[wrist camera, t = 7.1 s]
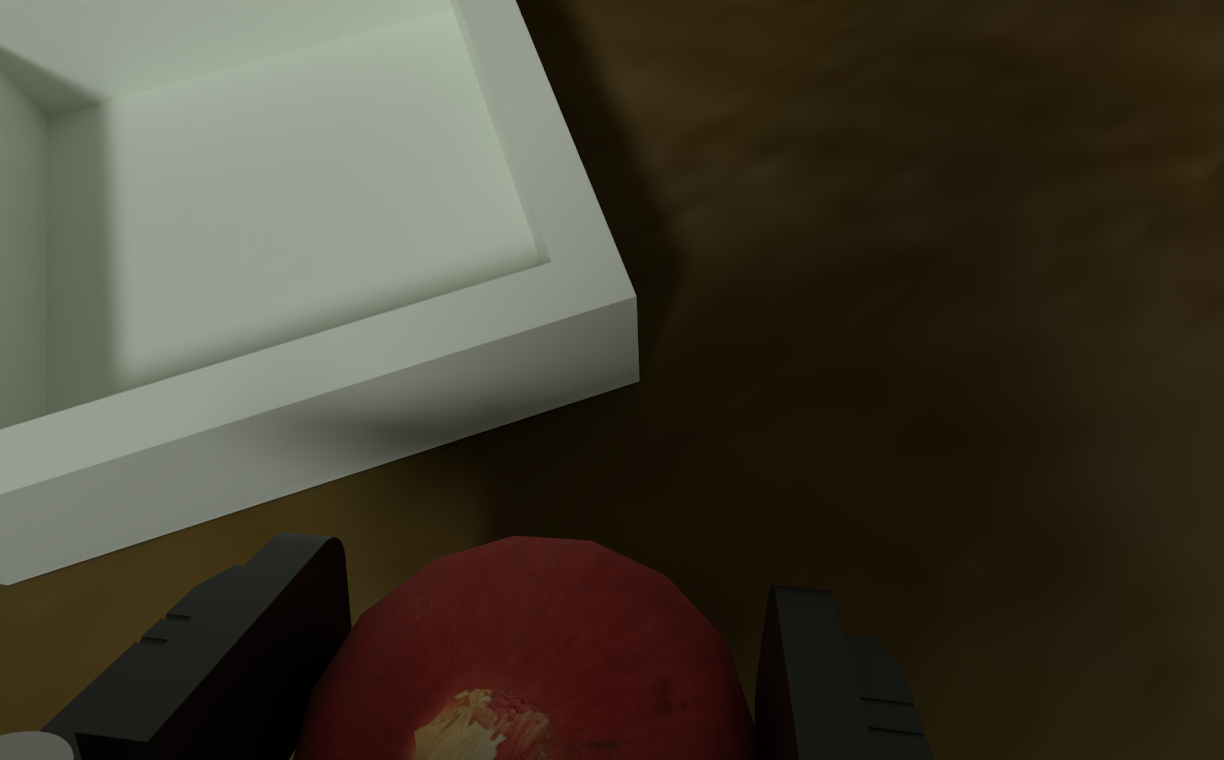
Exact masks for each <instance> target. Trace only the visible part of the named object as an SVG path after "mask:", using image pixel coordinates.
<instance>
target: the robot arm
mask: <svg viewBox="0 0 1224 760" xmlns="http://www.w3.org/2000/svg"><path fill="white" fill-rule="evenodd" d="M351 630H352V628H351V616H350V605H349V594H348V583H347V572H346V560H345V551H344V547H343V544H342V542H341V541H340V540H339V539H338V538H335V537H326V536H317V535H307V534H298V533H288V532H282V533H279V534H277V535H276V536H275V537H273V538H272V539H271V540H270V541H269V542H268V543H267V544H266V545H265V546H264V547H263V548H262V549H261V550H260V551H259V552H258V553H257V554H256V555H255V556H254V557H253V558H252V559H251V560H250V561H249V562H248V563H247V564H246V565H245V566H239V565H234V566H233V567H231V568H229V569H227V570H225V571H223V572H221V573H220V574H218V575H216V576H214V577H212V578H210V579H208V580H207V581H205V582H203V583H201V584H199V585H197V586H196V587H195V588H193V589H192V590H191V591H190V592H189V593H188V594H187V595H186V596H185V597H184V598H183V599H182V600H180V601H179V602H178V603H177V604H176V605H175V606H174V607H173V608H172V609H171V610H170V611H169V612H167V613H166V618H165V619H160V620H159V621H158V622H157V623H156V624H155V625H153V626H152V627H151V628H150V629H149V630H148V631H147V632H146V633H145V634H144V635H143V636H142V639H141V641H140V643H136V642H135V643H134V644H133V645H132V646H131V647H130V648H129V649H128V650H126V651H125V652H124V653H123V654H122V655H121V656H120V657H119V658H118V659H117V660H116V661H115V662H113V663H112V664H111V665H110V666H109V667H108V668H107V669H106V670H105V671H104V672H103V673H102V674H101V675H99V676H98V677H97V678H96V679H95V680H94V681H93V682H92V683H91V684H90V685H89V686H88V687H86V688H85V689H84V690H83V691H82V692H81V693H80V694H79V695H78V696H77V697H76V698H75V699H73V700H72V701H71V702H70V703H69V704H68V705H67V706H66V707H65V708H64V709H63V710H62V711H61V712H59V713H58V714H57V715H56V716H55V717H54V718H53V719H52V720H51V721H50V722H49V723H48V724H46V725H45V726H44V727H43V728H42V729H41V730H40V731H25V732H17V733H10V734H6V735H1V736H0V760H289V758H290V757H291V755H292V754H293V752H294V751H295V749H296V746H297V743H298V739H299V735H300V731H301V727H302V724H303V720H304V716H305V712H306V709H307V705H308V701H309V697H310V693H311V691H312V690H313V688H314V687H315V685H316V684H317V682H318V681H319V679H320V677H321V676H322V674H323V673H324V671H325V670H326V668H327V667H328V665H329V664H330V662H331V661H332V659H333V657H334V656H335V654H336V653H337V651H338V650H339V648H340V647H341V645H342V644H343V642H344V641H345V639H346V637H347V636H348V634H349V633H350V631H351ZM755 729H756V746H757V760H934V759H933V756H932V753H931V751H930V748H929V745H928V742H927V741H925V739H924V731H923V728H922V725H921V722H920V719H919V716H918V714H917V711H915V710H914V702H913V699H912V697H911V694H910V691H909V688H908V685H907V682H906V680H905V677H904V674H903V671H902V668H901V667H900V666H899V665H898V664H897V663H896V662H895V660H894V659H893V658H892V657H891V656H890V655H889V654H888V653H887V651H886V650H885V649H884V648H883V647H882V646H881V645H880V643H879V642H878V641H877V640H876V639H875V638H874V637H870V636H861V635H852V634H843V631H842V627H841V624H840V620H839V616H838V612H837V609H836V605H835V601H834V597H833V594H832V593H831V591H827V590H818V589H808V588H799V587H789V586H780V585H772V586H771V588H770V591H769V595H768V601H767V609H766V616H765V623H764V631H763V638H762V646H761V653H760V660H759V668H758V675H757V683H756V695H755Z"/></svg>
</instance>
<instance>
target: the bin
mask: <svg viewBox="0 0 1224 760" xmlns="http://www.w3.org/2000/svg"><path fill="white" fill-rule="evenodd" d="M636 382H639V353H638V326H637V298H636V294H635V291H634V289H633V286H632V284H631V282H630V279H629V277H628V274H627V272H626V269H625V267H624V264H623V262H622V260H621V257H620V255H619V252H618V250H617V247H616V245H615V242H614V240H613V238H612V235H611V233H610V230H609V228H608V225H607V223H606V220H605V218H604V215H603V213H602V211H601V208H600V206H599V203H598V201H597V198H596V196H595V193H594V191H593V189H592V186H591V184H590V181H589V179H588V176H587V174H586V171H585V169H584V167H583V164H582V162H581V159H580V157H579V154H578V152H577V149H576V147H575V144H574V142H573V140H572V137H571V135H570V132H569V130H568V127H567V125H566V122H565V120H564V118H563V115H562V113H561V110H560V108H559V105H558V103H557V100H556V98H555V96H554V93H553V91H552V88H551V86H550V83H549V81H548V78H547V76H546V73H545V71H544V69H543V66H542V64H541V61H540V59H539V56H538V54H537V51H536V49H535V47H534V44H533V42H532V39H531V37H530V34H529V32H528V29H527V27H526V24H525V22H524V20H523V17H522V15H521V12H520V10H519V7H518V5H517V2H516V0H0V584H4V585H10V584H13V583H16V582H19V581H23V580H26V579H29V578H32V577H35V576H38V575H41V574H44V573H47V572H50V571H53V570H57V569H60V568H63V567H66V566H69V565H72V564H75V563H78V562H81V561H84V560H88V559H91V558H94V557H97V556H100V555H103V554H106V553H109V552H112V551H115V550H119V549H122V548H125V547H128V546H131V545H134V544H137V543H140V542H143V541H146V540H149V539H153V538H156V537H159V536H162V535H165V534H168V533H171V532H174V531H177V530H180V529H184V528H187V527H190V526H193V525H196V524H199V523H202V522H205V521H208V520H211V519H215V518H218V517H221V516H224V515H227V514H230V513H233V512H236V511H239V510H242V509H245V508H249V507H252V506H255V505H258V504H261V503H264V502H267V501H270V500H273V499H276V498H280V497H283V496H286V495H289V494H292V493H295V492H298V491H301V490H304V489H307V488H311V487H314V486H317V485H320V484H323V483H326V482H329V481H332V480H335V479H338V478H341V477H345V476H348V475H351V474H354V473H357V472H360V471H363V470H366V469H369V468H372V467H376V466H379V465H382V464H385V463H388V462H391V461H394V460H397V459H400V458H403V457H407V456H410V455H413V454H416V453H419V452H422V451H425V450H428V449H431V448H434V447H437V446H441V445H444V444H447V443H450V442H453V441H456V440H459V439H462V438H465V437H468V436H472V435H475V434H478V433H481V432H484V431H487V430H490V429H493V428H496V427H499V426H503V425H506V424H509V423H512V422H515V421H518V420H521V419H524V418H527V417H530V416H533V415H537V414H540V413H543V412H546V411H549V410H552V409H555V408H558V407H561V406H564V405H568V404H571V403H574V402H577V401H580V400H583V399H586V398H589V397H592V396H595V395H599V394H602V393H605V392H608V391H611V390H614V389H617V388H620V387H623V386H626V385H629V384H633V383H636Z"/></svg>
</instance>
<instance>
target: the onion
mask: <svg viewBox="0 0 1224 760" xmlns="http://www.w3.org/2000/svg"><path fill="white" fill-rule="evenodd" d="M293 760H757V746H756V729H755V726H754V723H753V720H752V717H751V714H750V711H749V708H748V705H747V702H746V699H745V696H744V693H743V690H742V687H741V685H740V682H739V679H738V676H737V673H736V670H735V667H734V664H733V661H732V658H731V655H730V652H729V649H728V646H727V643H726V640H725V638H724V637H723V636H722V635H721V634H720V633H719V632H718V631H717V630H716V629H715V628H714V626H713V625H712V624H711V623H710V622H709V621H708V620H707V619H706V618H705V617H704V616H703V615H702V614H701V612H700V611H699V610H698V609H697V608H696V607H695V606H694V605H693V604H692V603H691V602H690V601H689V600H688V598H687V597H686V596H685V595H684V594H683V593H682V592H681V591H680V590H679V589H678V588H677V587H676V586H675V584H674V583H673V582H672V581H671V580H670V579H669V578H668V577H666V576H665V575H664V574H662V573H660V572H657V571H655V570H653V569H651V568H649V567H647V566H645V565H642V564H640V563H638V562H636V561H634V560H632V559H630V558H628V557H625V556H623V555H621V554H619V553H617V552H615V551H613V550H611V549H608V548H606V547H604V546H602V545H600V544H598V543H596V542H594V541H590V540H574V539H559V538H543V537H527V536H512V537H508V538H505V539H501V540H498V541H495V542H491V543H488V544H484V545H481V546H478V547H474V548H471V549H467V550H464V551H461V552H457V553H454V554H450V555H447V556H443V557H440V558H437V559H435V560H434V561H432V562H431V563H429V564H428V565H427V566H425V567H424V568H423V569H421V570H420V571H419V572H417V573H416V574H415V575H413V576H412V577H411V578H409V579H408V580H407V581H405V582H404V583H403V584H401V585H400V586H399V587H397V588H396V589H395V590H393V591H392V592H391V593H389V594H388V595H387V596H385V597H384V598H383V599H381V600H380V601H379V602H377V603H376V604H375V605H373V606H372V607H371V608H370V609H368V610H367V611H366V612H364V613H363V614H362V615H361V616H360V617H359V619H358V620H357V622H356V624H355V625H354V627H353V628H352V630H351V631H350V633H349V634H348V636H347V637H346V639H345V641H344V642H343V644H342V645H341V647H340V648H339V650H338V651H337V653H336V654H335V656H334V657H333V659H332V661H331V662H330V664H329V665H328V667H327V668H326V670H325V671H324V673H323V674H322V676H321V677H320V679H319V681H318V682H317V684H316V685H315V687H314V688H313V690H312V691H311V693H310V697H309V701H308V705H307V709H306V712H305V716H304V720H303V724H302V727H301V731H300V735H299V739H298V743H297V746H296V750H295V754H294V758H293Z"/></svg>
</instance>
